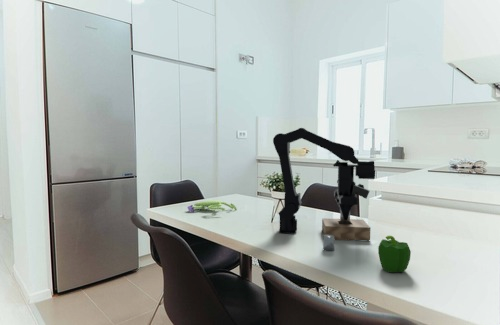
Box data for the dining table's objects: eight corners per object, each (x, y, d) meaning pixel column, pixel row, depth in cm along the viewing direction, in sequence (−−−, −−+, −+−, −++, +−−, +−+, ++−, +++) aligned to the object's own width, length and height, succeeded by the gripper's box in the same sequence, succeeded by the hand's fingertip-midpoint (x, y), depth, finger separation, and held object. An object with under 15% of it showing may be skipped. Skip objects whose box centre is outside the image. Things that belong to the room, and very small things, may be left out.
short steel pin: (323, 251, 105) (323, 237, 104) (322, 247, 108) (322, 234, 108) (334, 251, 104) (335, 238, 104) (333, 247, 108) (333, 235, 108)
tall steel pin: (340, 227, 120) (341, 206, 120) (339, 224, 124) (339, 204, 123) (350, 227, 120) (351, 206, 119) (348, 224, 123) (349, 204, 123)
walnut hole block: (325, 239, 117) (325, 226, 117) (322, 230, 129) (322, 218, 129) (370, 241, 115) (370, 227, 115) (362, 231, 127) (363, 219, 127)
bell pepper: (399, 263, 94) (400, 230, 93) (415, 275, 85) (416, 239, 85) (371, 264, 93) (372, 231, 93) (384, 276, 85) (385, 239, 84)
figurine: (219, 218, 151) (219, 207, 150) (179, 211, 166) (179, 201, 165) (241, 211, 166) (241, 201, 166) (203, 205, 181) (203, 196, 181)
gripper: (374, 181, 110) (372, 225, 111) (362, 176, 129) (361, 213, 130) (341, 181, 112) (340, 224, 113) (334, 175, 130) (333, 213, 131)
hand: (344, 218), depth 122 cm, fingers closed on tall steel pin, 4 cm apart
